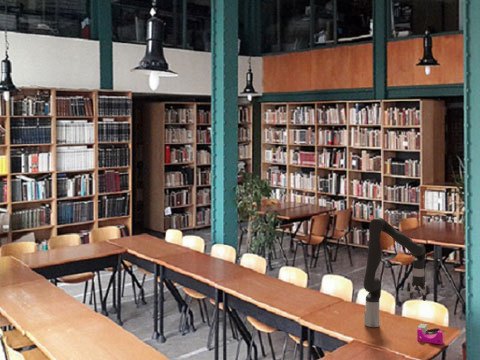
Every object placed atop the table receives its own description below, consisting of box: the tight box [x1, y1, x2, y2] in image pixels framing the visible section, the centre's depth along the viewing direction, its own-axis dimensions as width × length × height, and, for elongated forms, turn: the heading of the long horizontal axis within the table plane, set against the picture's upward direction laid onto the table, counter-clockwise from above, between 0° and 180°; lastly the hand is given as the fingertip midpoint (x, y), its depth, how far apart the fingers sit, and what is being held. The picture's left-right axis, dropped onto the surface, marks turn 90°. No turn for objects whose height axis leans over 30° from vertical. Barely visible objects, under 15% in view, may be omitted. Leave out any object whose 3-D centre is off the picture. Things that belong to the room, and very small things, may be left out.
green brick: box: [417, 323, 428, 335], centre depth 365 cm, size 4×9×5 cm, turn 151°
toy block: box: [416, 327, 444, 345], centre depth 349 cm, size 15×6×8 cm, turn 63°
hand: (418, 299), depth 357 cm, fingers open, 8 cm apart
